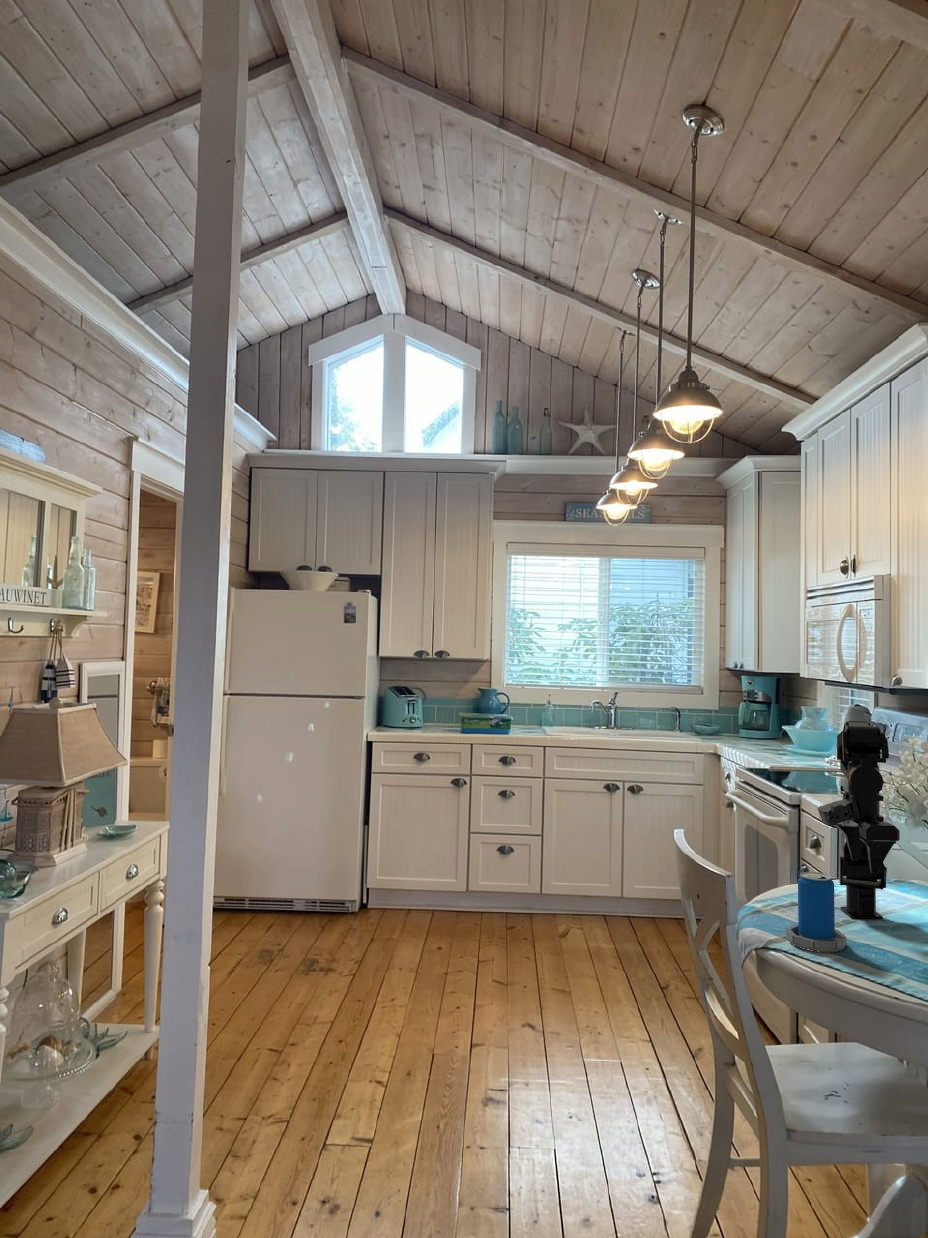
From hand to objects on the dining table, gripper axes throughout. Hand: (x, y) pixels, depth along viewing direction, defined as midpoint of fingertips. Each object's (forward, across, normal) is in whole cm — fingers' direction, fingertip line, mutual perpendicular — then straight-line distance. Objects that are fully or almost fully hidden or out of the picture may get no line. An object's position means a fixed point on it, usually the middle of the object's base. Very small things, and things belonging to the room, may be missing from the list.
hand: (864, 867), depth 167 cm
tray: (+13, +7, -12) cm, 19 cm away
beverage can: (+12, +7, -12) cm, 18 cm away
